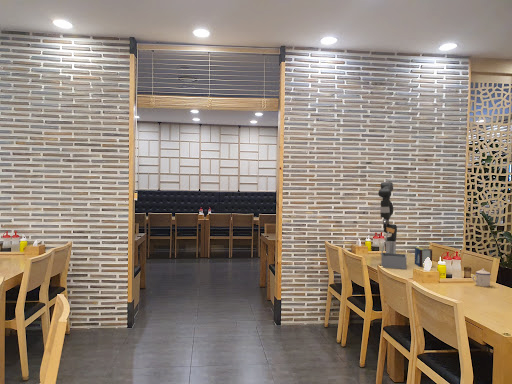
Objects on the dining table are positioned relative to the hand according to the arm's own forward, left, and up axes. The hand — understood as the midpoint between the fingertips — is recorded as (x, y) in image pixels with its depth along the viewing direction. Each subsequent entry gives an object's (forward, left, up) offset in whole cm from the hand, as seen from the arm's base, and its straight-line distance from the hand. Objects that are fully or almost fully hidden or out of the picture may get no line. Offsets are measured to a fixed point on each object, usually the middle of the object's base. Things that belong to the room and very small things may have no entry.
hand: (385, 231), depth 348 cm
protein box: (-17, +32, -30) cm, 47 cm away
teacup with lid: (+46, +67, -30) cm, 86 cm away
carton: (0, +8, -30) cm, 31 cm away
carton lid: (0, +5, -9) cm, 10 cm away
